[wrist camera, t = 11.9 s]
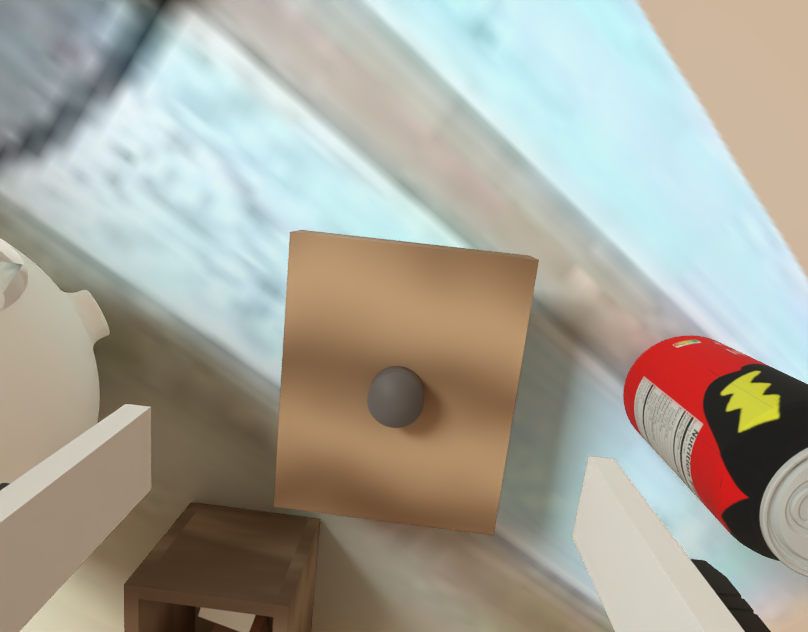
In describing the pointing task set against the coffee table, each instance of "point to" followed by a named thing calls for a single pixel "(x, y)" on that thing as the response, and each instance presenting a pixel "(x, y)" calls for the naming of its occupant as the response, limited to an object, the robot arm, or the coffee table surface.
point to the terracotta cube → (258, 627)
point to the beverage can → (729, 438)
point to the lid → (399, 379)
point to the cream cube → (229, 618)
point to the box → (226, 571)
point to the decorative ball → (43, 364)
